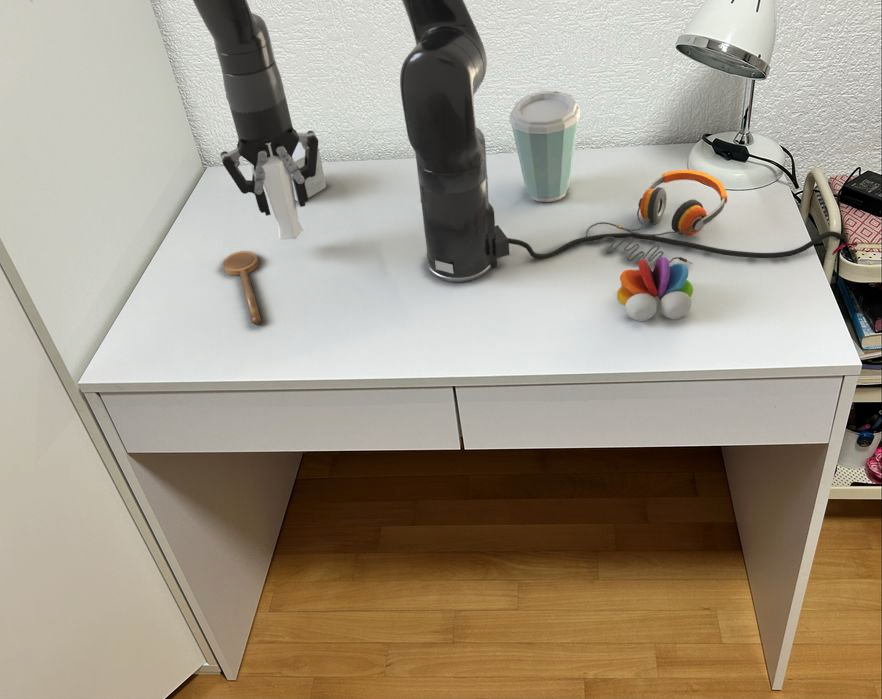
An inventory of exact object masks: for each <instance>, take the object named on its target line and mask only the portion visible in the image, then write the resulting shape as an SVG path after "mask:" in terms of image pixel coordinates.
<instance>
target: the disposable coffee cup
mask: <svg viewBox="0 0 882 699" xmlns="http://www.w3.org/2000/svg"><path fill="white" fill-rule="evenodd" d="M580 118H581V110H580V107H579V106H578V105H577V101H576V100H575V99H574V97H573V96H572V95H571V94H569V93H566V92H562V91H557V90H541V91H537V92H533V93H530V94H526V96H524V97H522V98H521V99H519V100H517V102H515V104H514V106H513V107H512V110H511V111H510V114H509V120H508V122H509V123H510V125H511V129H512V133H513V137H514V142H515V147H516V152H517V157H518V160H519V165H520V169H521V174H522V180H523V183H524V187H525V191H526V192H527V194H528V196H529V197H530V199H532V200H534V201H537V202H541V203H542V202H544V203H550V202H554V201H555V202H556V201H559V200H561V199H562V198H564V197H565V196H566V195H567V192H568V191H569V187H570V183H571V181H570V180H571V174H572V168H573V161H574V153H575V147H576V140H577V131H578V127H579V126H578V124H579V121H580Z"/></svg>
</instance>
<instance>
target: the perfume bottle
mask: <svg viewBox="0 0 882 699" xmlns="http://www.w3.org/2000/svg"><path fill="white" fill-rule="evenodd" d="M270 144H271V143H266V145H268V148H269V152H270V157H268V158H267V161H266V164H265V165H263V166H260V167H263V169H264V171H265V179H264V180H263V183H264V184H263V187H264V189H265V191H266V192H265V193H266V196H267V197H268V201H269V204H270V206H271V210H272V212H273V215H274V218H275V222H276V223H277V232H278V233H277V234H278V239H279V240H296V239H297V238H298V237H299V236H300V235H301V234H302V233H303V232H304V228H303V226H302V224H301V222H300V221H299V216H298V208H297V201H296V200H295V195H294V189H293V183H292V177H291V173H290V172H289V170H288V169H287V167H286V166H285V164H284V162H283V161H282V159H281V158H280V157H278V156H273V153H272V149H271V145H270Z"/></svg>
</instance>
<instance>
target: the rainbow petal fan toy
mask: <svg viewBox="0 0 882 699" xmlns="http://www.w3.org/2000/svg"><path fill="white" fill-rule="evenodd" d="M657 258H658V257H657ZM669 261H670V260H669V258H667V257H665V256H661V257H660V258H658V260H657V261H656V264H655V266H654V265H653V270H652V268H651V265H650V264H649V263H648V262H649V261H648V260H646V259H645V258H644V259H642V258H640V259H639V260H638V264H637V266H638V267H631V268H629V269H625V270H623V271H622V272H621V273H620V276H619V280H620V288H618V290H617V292H616V298H617V301H618V303H620V304H621V305H622V306H624V307H625V308H624V309H625V312H626V314H627V315H628V317H630V318H631V319H633V320H634V321H638V322H644V321H648V320H649V319H652V318H653V317H654V315H655V314H656V313H657V310H658V309H659V311H660V312H661V314H662V315H663V316H664V317H666V318H668V319H671V320H678V319H681V318H683V317H685V316H686V315H687V314H688V313H689V311H690V310H691V307H692V299H691V297H692V295H693V294H694V286H693V284H692V282H691V281H689V279H688V277H689V268H688V267H687V266H686V265H685V264H684V263H674V264H671V263H669ZM657 297H658V300H659V303H658V301H657V299H656V298H657Z"/></svg>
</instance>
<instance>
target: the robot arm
mask: <svg viewBox="0 0 882 699" xmlns="http://www.w3.org/2000/svg"><path fill="white" fill-rule="evenodd" d="M192 1H193V4H194V6H195V8H196V10H197V12H198V14H199V15H200V17H201V19H202V21H203V23H204V25H205V27H206V29H207V30H208V32H209V34H210V36H211V37H212V39H213V43H214V47H215V51H216V55H217V58H218V62H219V65H220V69H221V74H222V80H223V87H224V91H225V97H226V100H227V103H228V105H229V110H230V112H231V116H232V121H233V124H234V127H235V131H236V134H237V138H238V139H237V144H236V148H234V149H231V151H229V152H228V151H225V150H223V151H222V152H221V153H220V159H221V163H222V165H223V166H224V168H225V169H226V171H227V173H228V174H229V176H230V177H231V179H232V181H233V182H234V183H235V185H236V187H237V188H238V189H239V191H240V193H242V194H243V195H244V194H245V195H246V194H248V193H252V194H253V195H254V197H255V200H256V204H257V207H258V210H259V212H260V213H261V214H263V213H264V214H265V216H271V214H272V213H271V210H270V206H269V203H268V199H267V194H266V192H265V190H264V189H265V188H264V183H263V180H264V179H265V171H264V169H263V167H260V166H263V165H265V164H266V161H267V158H268V157H270V152H269V148H268V145H266V143H271V144H270V145H271V149H272V153H273V156H278V157H280V158H281V159H282V161H283V162H284V164H285V166H286V167H287V169H288V170H289V172H290V173H291V174H292V176H293V177H294V179H293V182H294V187H295V191H296V195H297V199H298V201H297V202H298V205H299V207H300V208H302V207H305V206H306V204H305V203H306V202H308V201H309V198H308V195H307V191H306V187H305V180H306V179H307V178H309V177H314V176H315V174H316V165H317V153H318V149H319V139H318V137H317V135H316V133H315V132H314V131H313V130H308V131H306V132H305V133H303V132H297V130H296V129H295V128H294V127H293V123H292V122H293V121H292V119H291V118H292V117H291V114H290V110H289V105H288V102H287V97H286V96H287V95H286V92H285V88H284V84H283V79H282V75H281V72H280V70H279V68H278V65H277V61H276V57H275V53H274V48H273V45H272V44H273V43H272V41H271V36H270V33H269V29H268V27H267V23H266V22H265V20H264V19H263V18H262V17H261V16H260V15H258V14H256V13H252V11H251V8H250V6H249V2H248V0H192ZM401 3H402V5H403V7H404V11H405V12H406V15H407V18H408V21H409V23H410V24H409V25H410V27H411V30H412V33H413V37H414V41H415V46H414V47H413V49H412V50H411V51H410V52H409V53H408V54H407V56H406V57H405V58H404V60H403V63H402V65H401V69H400V74H399V88H400V98H401V104H402V110H403V116H404V123H405V128H406V133H407V138H408V141H409V144H410V146H411V148H412V149H413V151H414V153H415V161H416V162H415V163H416V169H417V177H418V186H419V194H420V204H421V212H422V220H423V229H424V230H423V231H424V237H425V246H426V258H427V268H428V271H429V272H430V274H431V275H432V276H434V277H435V278H437V279H439V280H442V281H445V282H449V283H464V282H470V281H474V280H477V279H479V278H481V277H483V276H484V275H486V274H487V273H489V271H490V270H492V269H494V268H496V267H498V259H500V258H504V257H506V256H510V245H516V246H519V247H522V248H524V249H526V251H527V253H528V254H529V255H530V257H532V258H534V259H536V260H546V259H550V258H553V257H555V256H557V255H559V254H562V253H564V251H567V250H568V249H570V248H572V247H574V246H576V245H581V244H583V243H588V242H589V243H590V241H596V240H599V239H602V238H605V237H614V238H615V239H625V238H627V237H632V238H633V239H635V240H636V239H637V240H646V241H651V242H652V241H654V242H658V243H663V244H668V245H674V246H679V247H683V248H689V249H694V250H697V251H698V250H699V251H703V252H708V253H711V254H712V253H713V254H717V255H722V256H731V257H737V258H738V257H739V258H750V259H781V258H787V257H792V256H795V255H799V254H801V253H803V252H805V251H807V250H809V249H810V248H812V247H814V246H815V245H816V244H818V243H819V242H821V241H822V240H824V239H827V238H830V237H831V238H832V237H833V238H836V239H837V240H844V239H845V237H844V236H843V234H841V233H840V232H838V231H834V230H833V231H832V230H829V231H826V232H823V233H821V234H819V235H817V236H815V238H813V239H811V240H810V241H808V242H807V243H805V244H803V245H801V246H799V247H797V248H795V249H791V250H786V251H778V252H776V251H775V252H753V251H742V250H741V251H740V250H732V249H726V248H725V249H724V248H718V247H713V246H708V245H704V244H699V243H695V242H690V241H686V240H679V239H673V238H669V237H663V236H660V235H659V236H644V235H638V234H633V233H630V232H614V233H613V232H612V233H611V232H610V233H602V234H595V235H587V236H588V237H586V236H583V237H580V238H576V239H573V240H571V241H569V242H567V243H565V244H563V245H561V246H560V247H559V248H557V249H554V250H553V251H550V252H548V253H537V252H535V250H534V249H533V248H532V246H531V245H530V244H529V243H527V242H525V241H523V240H521V239H516V238H511V237H508V236H507V235H506V234H505V232H504V231H503V230H502V229H501V227H500V226H499V225H498V224H497V225H496V217H495V209H494V206H492V204H491V203H490V200H489V184H488V182H489V181H488V168H487V167H488V166H487V149H486V137H485V135H484V133H483V132H482V130H481V128H479V127H477V125H476V115H475V104H474V96H475V94H476V93H477V91H478V90H479V88H480V87H481V86H482V84H483V82H484V79H485V77H486V73H487V66H488V58H487V53H486V49H485V46H484V44H483V41H482V39H481V36H480V34H479V32H478V29H477V26H476V25H475V23H474V21H473V18H472V16H471V14H470V11H469V10H468V8H467V5H466V3H465V1H464V0H401ZM298 142H300V143H301V144H302V147H303V148H304V149H305V160H304V166H303V167H301V168H300V169H299V167H298V166H297V164H296V163H295V161H294V159H293V158H292V155H293V153H294V151H295V149H296V146H297V144H298ZM240 157H241V158H243V159H245V160H246V162H248V163H250V164H251V172H252V173H251V174H252V175H251V179H250V180H249V179H246V177H245V176H244V175H243V173H242V171H241V170H240V168H239V167H240V165H241V163H240ZM609 239H610V240H613V239H612V238H608V239H607V240H609Z"/></svg>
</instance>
